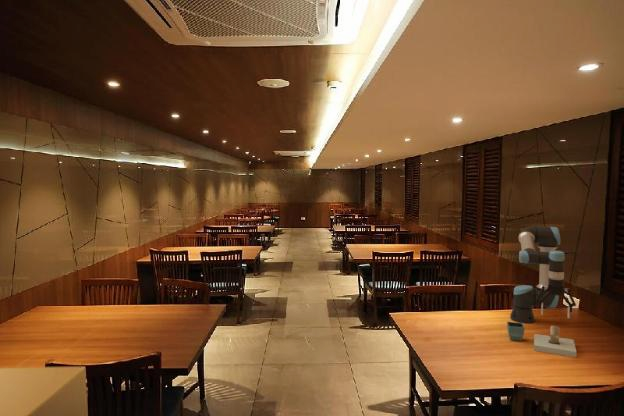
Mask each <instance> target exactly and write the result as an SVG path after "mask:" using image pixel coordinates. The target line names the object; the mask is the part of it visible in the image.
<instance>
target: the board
mask: <svg viewBox="0 0 624 416" xmlns="http://www.w3.org/2000/svg"><path fill="white" fill-rule="evenodd" d="M533 351H535V352H540V353H541V352H542V353H547V354H548V353H549V354H553V355H559V356H567V357H571V358H577V349H576V345H575V341H574V339H571V338H565V337H559V344H558V345H557V344H551V343H550V335H544V334H539V333H538V334H537V333H534V334H533Z"/></svg>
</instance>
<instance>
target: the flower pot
mask: <svg viewBox="0 0 624 416" xmlns="http://www.w3.org/2000/svg"><path fill="white" fill-rule="evenodd" d="M525 328H526V327H525V325H524V323H521V322H516V321H506V329H507V333H508V336H509V339H510V340H512V341H519V342H520V341H522V339H523V337H524V333H525Z"/></svg>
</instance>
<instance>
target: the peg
mask: <svg viewBox="0 0 624 416" xmlns="http://www.w3.org/2000/svg"><path fill="white" fill-rule="evenodd" d="M549 330H550V332H549V333H550V334H549V336H550V343H551V344H557V345H558V344H559V338H560V327H559V325H558V326H557V325H550V329H549Z"/></svg>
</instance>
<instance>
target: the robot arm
mask: <svg viewBox="0 0 624 416" xmlns="http://www.w3.org/2000/svg"><path fill="white" fill-rule="evenodd" d="M517 236H518V242H519V243H520V246H521V248H520V249H521V250H519V252H518V253H519V254H518V260H519V263H521V264H522V263H523V264H530V265H531V264H532V265H533V264H534V265H539V275H538V276H539V277H538V278H539V279H538V280H539V281H538V284H537V285H536V288H534V287H533V286H532V285H529V284H528V285H526V284H522V285H516V286H515V287H514V288H513V293H512V294H513V304H512V305H513V306H512V310H511V312H510V319H511V320H512V321H513V322H516V323H522V324H532V323H533V324H534V323H535V321H536V317H535V313H534V311H533V307H538V308H539V309H540V315H541V316H543V314H544V308H550V309H551V308H553V309H554V308H556V307H557V306H558V303H559V300H560V299H559V298H560V296H561V298H562V299H563V300H564V301H565V302H566V304H567V319H570V314H571V313H572V312H573V307H576V306H577V304H576V302H575V300H574V298H573V295H572V293H571V289H570V287H568V288H567V287H566V288H565V285H564V283H565V280H564V279H565V259H566V258H565V252H564V251H561V250H557V249H558V247H559V246H560V245H561V235H560V229H559V228H558V227H555V226H543V225H542V226H536V225H535V226H534V225H532V226H527V227H524V228H523V229H522V230H521V231H520V232H519V233H518V235H517ZM536 245H537V248H539V250H538V251H537V250H536V247H535V246H536ZM564 292H566V293H567V294H568V297H569V299H570V301H569V299H568V298H567V296H565V294H564Z"/></svg>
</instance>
